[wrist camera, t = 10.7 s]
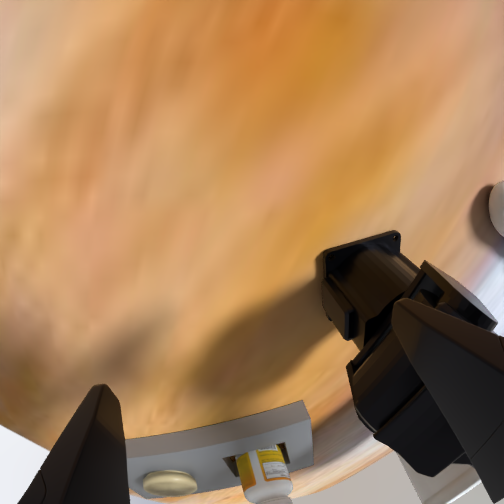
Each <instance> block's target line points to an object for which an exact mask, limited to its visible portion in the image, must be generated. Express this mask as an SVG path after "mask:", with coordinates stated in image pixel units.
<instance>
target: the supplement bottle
mask: <svg viewBox="0 0 504 504" xmlns="http://www.w3.org/2000/svg"><path fill="white" fill-rule="evenodd" d="M235 459H236V463H237V468H238V472H239V476H240V480H241V484H242V488H243V492H244V495H245V498H246V499H247V500H248V501H249V502H252V503H255V504H292V500H291V499H290V498H289V497H288V496H287V495H289V494H290V493H291V492H292V490H293V484H292V481H291V478H290V476H289V473H288V470H287V467H286V464H285V461H284V459H283V455H282V453H281V450H280V447H279V444H276V445H273V446H269V447H265V448H262V449H258V450H254V451H250V452H246V453H242V454H238V455H235Z"/></svg>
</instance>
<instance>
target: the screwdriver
mask: <svg viewBox="0 0 504 504" xmlns="http://www.w3.org/2000/svg"><path fill="white" fill-rule="evenodd" d="M489 212H490V218H491V221H492V223H493V225H494V227H495V229H496V230H497V231H498V233H499V234H500V235H502V236H503V237H504V181H501V182H499V183H497V184H496V185H495V186H494V187H493V189H492V191H491V193H490V198H489Z"/></svg>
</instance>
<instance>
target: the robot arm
mask: <svg viewBox="0 0 504 504" xmlns="http://www.w3.org/2000/svg"><path fill="white" fill-rule="evenodd" d="M394 236H395V238H394V239H393V237H394ZM400 242H401V235H400V233H399V232H397V231H396V230H392V231H389V232H386V233H382V234H379V235H375V236H372V237H369V238H365V239H362V240H358V241H355V242H351V243H348V244H344V245H341V246H337V247H334V248H331V249H328V250H326V251H325V252H324V254H323V266H324V278H323V280H322V282H321V283H322V299H323V308H324V309H325V311H326V316H327V318H328V319H329V320H330V321H333V323H334V325H335V326H336V328H337V329H338V331H339V332H340V334H341V335H342V337H343V339H345V340H347V341H349V340H353V341H354V343H355V344H356V346H357V347H358V349H359V351H360V352H359V353H358V354H357V356H356V357H355V358H354V359H353V360H351V361H350V362H349V363H348V364H347V366H346V369H347V374H348V378H349V383H350V387H351V392H352V396H353V401H354V406H355V410H356V413H357V415H358V417H359V419H360V420H361V421H362V423H363V424H364V425H365V426H366V427H367V428H368V429H369V430H370V431H372V432H373V433H374V434H373V437H374V438H375V439H376V440H378V441H380V442H381V443H383V444H385V445H387V446H389V447H390V448H391V449H393V450H394V451H396V452H397V453H398V454H399V455H400V456H401V457H402V458H403V459H404V460H405V461H406V462H407V463H408V464H409V465H410V466H411V467H412V468H413V469H414V470H415V471H416V472H417V473H419V474H422V475H425V476H428V477H435V476H436V475H438V474H439V473H440V472H442V471H443V470H444V469H445V468H447V467H448V466H449V465H450V464H460V465H470V466H471V467H473V468H474V469H475V470H476V472H477V474H478V476H479V478H480V479H481V481H482V483H483V485H484V487H485V489H486V491H487V493H488V495H489V496H490V498H491V500H492V502H493V503H494V504H495V503H496V502H498V501H500V500H501V499H503V498H504V337H502V336H498V335H497V334H496V333H495V332H494V331H493V329H494V328H495V327H496V325H497V324H498V322H497V320H496V319H495V318H494V316H493V315H492V314H491V313H490V312H489V310H488V309H487V308H486V307H485V306H484V305H483V303H482V302H481V301H480V300H479V299H478V298H477V297H476V296H475V295H474V294H472V293H471V292H470V291H469V290H468V289H466V288H465V287H464V286H463V285H461V284H460V283H459V282H458V281H456V280H455V279H454V278H452V277H451V276H449V275H447V274H446V273H444V272H443V271H441V270H440V269H438V268H437V267H435V266H434V265H432V264H430V263H429V262H427V261H426V260H424V262H423V263H422V265H421V266H420V268H421V269H419V268H418V267H417V266H416V265H415V264H413V263H412V262H411V261H410V260H409V259H408V258H406V257H405V256H404V255H403V254H402V253H400ZM330 255H332V257H331V258H329V256H330ZM40 469H41V470H39V471H38V473H37V474H36V476H35V478H34V479H33V481H32V483H31V484H30V486H29V488H28V489H27V490H26V492H25V493H24V495H23V496H22V498H21V499H20V501H19V502H18V503H17V504H130V496H129V485H128V472H127V454H126V444H125V437H124V430H123V423H122V415H121V407H120V402H119V400H118V398H117V397H116V396H115V395H114V393H113V392H112V391H111V389H110V388H109V387H108V386H107V385H106V384H98V385H94V386H93V387H92V388H91V389H90V391H89V392H88V394H87V395H86V397H85V398H84V400H83V401H82V403H81V404H80V406H79V407H78V409H77V410H76V412H75V413H74V415H73V417H72V418H71V420H70V421H69V423H68V424H67V426H66V427H65V429H64V431H63V432H62V434H61V435H60V437H59V438H58V440H57V442H56V443H55V445H54V446H53V448H52V450H51V451H50V453H49V455H48V456H47V458H46V460H45V461H44V463H43V465H42V466H41V468H40Z"/></svg>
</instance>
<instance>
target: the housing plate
mask: <svg viewBox="0 0 504 504" xmlns="http://www.w3.org/2000/svg"><path fill="white" fill-rule="evenodd" d="M283 442H284V446H285V448H283V449H280V450H281V453H282V455H283V459H284V461H285V464H286V467H287V470H288V473H290V472H293V471H296V470H300V469H303V468H306V467H309V466H312V465H314V458H313V444H312V430H311V418H310V416H309V414H308V411H307V409H306V407H305V404H304V402H303V400H301V401H298V402H295V403H292V404H289V405H286V406H282V407H279V408H276V409H272V410H269V411H266V412H262V413H259V414H255V415H251V416H247V417H244V418H240V419H236V420H232V421H228V422H223V423H219V424H215V425H210V426H205V427H201V428H196V429H191V430H186V431H180V432H175V433H169V434H163V435H156V436H150V437H143V438H135V439H127V440H125V444H126V454H127V472H128V485H129V488H130V489H132V490H133V491H135V492H136V493H138V494H139V495H141V496H142V497H144V498H146V499H151V498H163V497H179V496H185V495H189V494H196V493H202V492H208V491H214V490H220V489H225V488H230V487H235V486H240V485H242V484H241V480H240V476H239V472H238V468H237V463H236V461H233V462H232V460H231V459H230V457H229V456H234V455H238V454H242V453H246V452H250V451H254V450H258V449H262V448H265V447H269V446H273V445H276V444H279V443H283Z"/></svg>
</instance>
